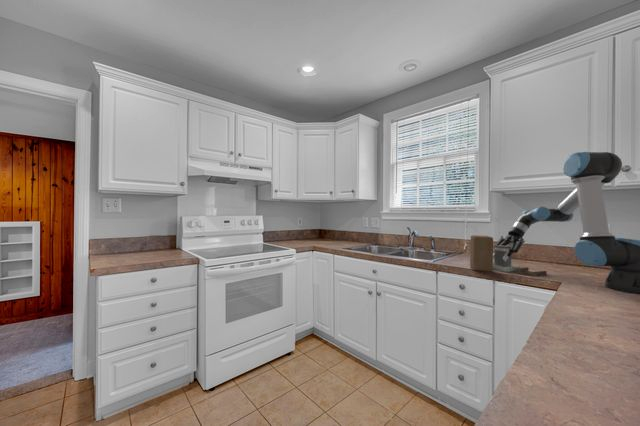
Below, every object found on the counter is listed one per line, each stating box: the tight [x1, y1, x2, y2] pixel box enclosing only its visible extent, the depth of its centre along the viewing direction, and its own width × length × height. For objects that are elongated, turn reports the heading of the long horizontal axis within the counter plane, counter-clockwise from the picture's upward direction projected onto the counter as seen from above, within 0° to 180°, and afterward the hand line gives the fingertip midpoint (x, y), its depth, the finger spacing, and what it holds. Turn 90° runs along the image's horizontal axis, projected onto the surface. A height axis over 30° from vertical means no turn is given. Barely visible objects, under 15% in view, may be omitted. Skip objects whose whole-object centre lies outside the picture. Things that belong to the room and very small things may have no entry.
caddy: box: [494, 245, 512, 267], centre depth 168 cm, size 6×6×12 cm
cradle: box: [514, 266, 547, 277], centre depth 158 cm, size 10×10×2 cm
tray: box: [493, 262, 521, 273], centre depth 168 cm, size 12×12×2 cm
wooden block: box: [469, 234, 494, 273], centre depth 166 cm, size 10×10×20 cm
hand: (498, 258), depth 167 cm, fingers closed on caddy, 6 cm apart
